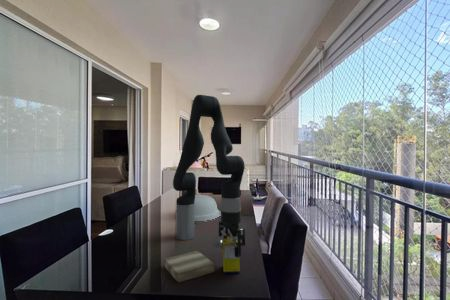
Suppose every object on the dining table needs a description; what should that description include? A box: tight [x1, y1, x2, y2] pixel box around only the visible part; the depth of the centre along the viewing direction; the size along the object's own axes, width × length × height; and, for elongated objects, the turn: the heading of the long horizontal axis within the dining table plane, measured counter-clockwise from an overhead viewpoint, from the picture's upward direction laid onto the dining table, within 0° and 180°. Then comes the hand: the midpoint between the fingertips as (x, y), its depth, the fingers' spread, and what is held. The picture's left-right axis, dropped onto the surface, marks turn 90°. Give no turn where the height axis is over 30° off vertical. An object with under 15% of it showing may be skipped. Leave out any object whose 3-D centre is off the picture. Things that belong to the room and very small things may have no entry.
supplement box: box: [222, 237, 241, 275], centre depth 92 cm, size 6×6×11 cm
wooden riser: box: [164, 250, 215, 283], centre depth 93 cm, size 14×14×3 cm
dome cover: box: [194, 194, 221, 222], centre depth 171 cm, size 32×30×14 cm
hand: (231, 252), depth 92 cm, fingers open, 8 cm apart
